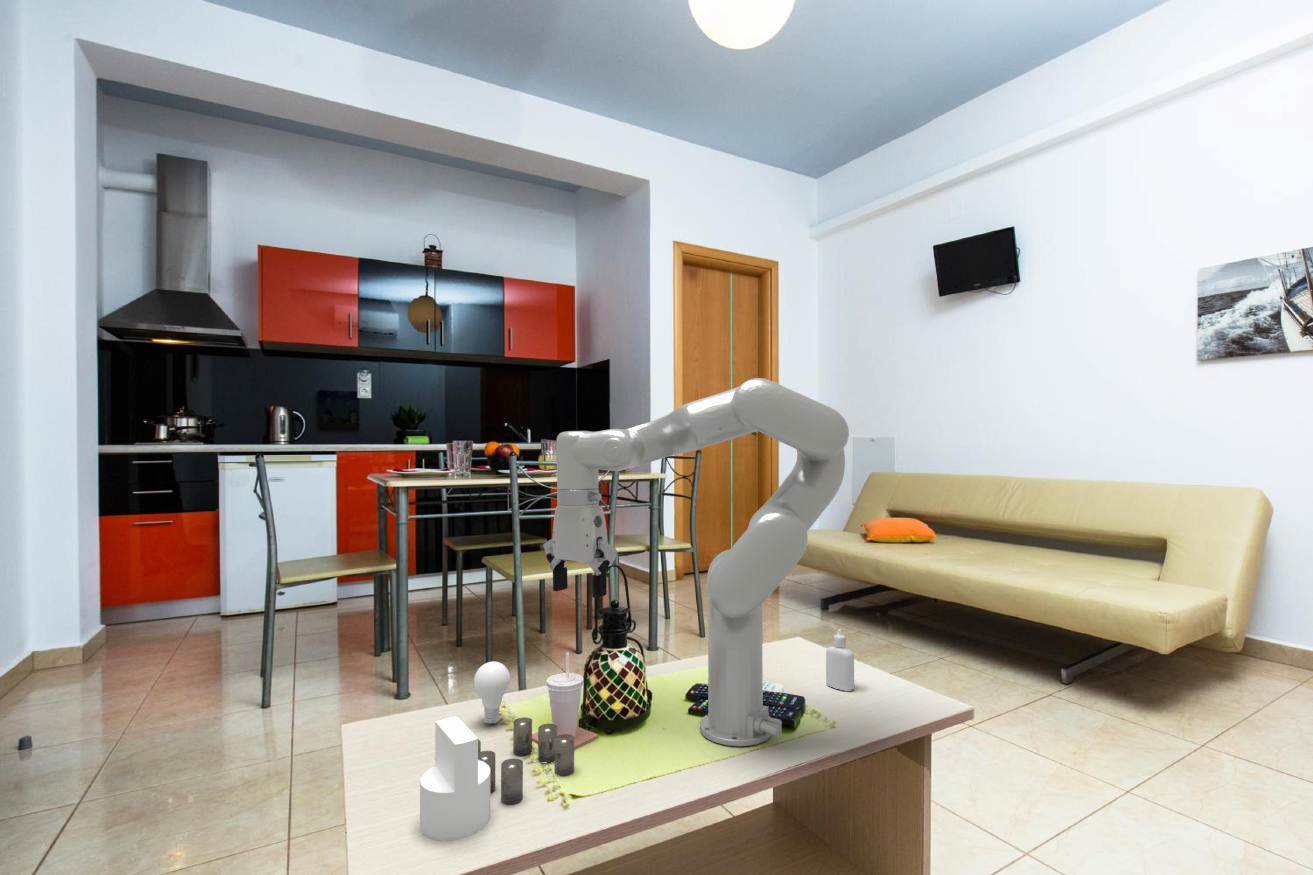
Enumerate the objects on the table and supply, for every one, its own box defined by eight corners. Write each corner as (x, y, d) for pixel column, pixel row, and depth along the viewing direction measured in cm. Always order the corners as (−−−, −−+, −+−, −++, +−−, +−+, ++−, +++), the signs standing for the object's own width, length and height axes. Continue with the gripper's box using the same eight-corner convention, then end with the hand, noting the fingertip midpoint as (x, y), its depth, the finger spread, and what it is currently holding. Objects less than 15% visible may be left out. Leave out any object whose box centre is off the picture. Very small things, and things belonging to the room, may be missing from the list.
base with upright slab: (500, 824, 84) (500, 732, 84) (431, 849, 79) (431, 751, 79) (476, 794, 92) (477, 710, 92) (412, 815, 86) (412, 726, 87)
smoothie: (591, 735, 109) (591, 653, 109) (560, 748, 104) (560, 662, 105) (568, 724, 113) (569, 645, 114) (538, 735, 109) (538, 653, 109)
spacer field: (582, 767, 99) (582, 735, 99) (504, 810, 87) (504, 773, 87) (528, 743, 107) (528, 713, 107) (450, 779, 96) (450, 746, 96)
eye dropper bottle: (842, 681, 135) (841, 625, 136) (857, 691, 130) (856, 632, 130) (823, 683, 134) (823, 626, 134) (837, 693, 129) (837, 633, 129)
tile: (598, 737, 109) (598, 734, 109) (563, 754, 103) (563, 751, 103) (562, 723, 115) (562, 720, 115) (527, 739, 109) (527, 736, 109)
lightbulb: (488, 734, 111) (489, 670, 111) (466, 724, 115) (466, 663, 115) (517, 721, 116) (517, 661, 116) (494, 713, 120) (495, 654, 120)
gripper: (627, 498, 114) (629, 594, 113) (559, 496, 124) (560, 584, 124) (599, 502, 108) (601, 603, 107) (530, 498, 118) (531, 591, 118)
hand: (579, 593), depth 116 cm, fingers open, 9 cm apart
